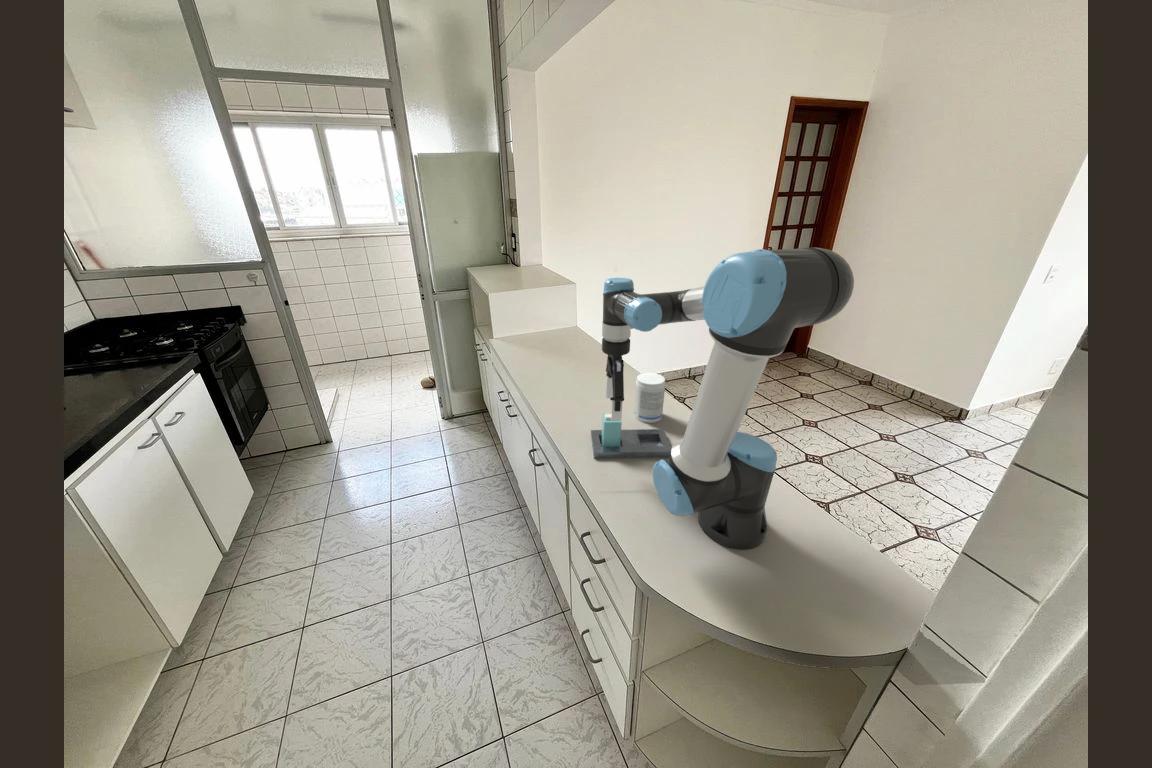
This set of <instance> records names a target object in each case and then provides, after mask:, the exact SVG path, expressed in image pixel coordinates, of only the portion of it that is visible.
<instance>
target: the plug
mask: <svg viewBox="0 0 1152 768" xmlns="http://www.w3.org/2000/svg"><path fill="white" fill-rule="evenodd" d="M601 419H602V420H601V430H602V439H601V442H602V447H620V439H621V430H622V420H621V421H611V413H602V417H601Z"/></svg>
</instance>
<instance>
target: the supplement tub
mask: <svg viewBox="0 0 1152 768" xmlns="http://www.w3.org/2000/svg"><path fill="white" fill-rule="evenodd" d="M635 382H636V383H635V392H634V393H635V395H634V408H633V410H634V411H633V415H634V417H635V418H636V420H638V421H640V422H643V423H649V424H650V423H652V424H653V423H656V422H659V421H661V419H662V418H663V412H664V402H665V392H666V378H665V377H664V376H663V375H661V374H659V373H654V372H644V373H641V374H638V375H637V376H636V381H635Z"/></svg>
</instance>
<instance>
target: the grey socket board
mask: <svg viewBox="0 0 1152 768" xmlns="http://www.w3.org/2000/svg"><path fill="white" fill-rule="evenodd" d="M590 438H591V439H590V440H591V441H590V442H591V447H592V454H593V459H639V458H640V459H647V458H649V459H650V458H669V455H670V452H671V449H672V446H671V443H670V441H669V439H668V437H667V434H666V431H665V429H664V428H659V429H658V428H656V429H653V428H651V429H648V428H647V429H646V428H645V429H621V439H620V447H602V442H601V439H602V429H591V430H590Z"/></svg>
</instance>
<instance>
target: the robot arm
mask: <svg viewBox="0 0 1152 768" xmlns="http://www.w3.org/2000/svg"><path fill="white" fill-rule="evenodd" d="M854 283H855V278H854V273H853V270H852V268H851V266H850V264H849V263H848V261H847V260H846V259H845V258H844V257H843V256H841V255H840V254H838V253H837V252H835V251H833V250H830V249H827V248H821V247H804V248H803V247H802V248H787V249H786V248H785V249H783V248H782V249H768V250H767V249H763V248H762V249H752V250H748V251H746V252H745V251H744V252H738V253H735V254H732V255H730V256H727V257H726V258H725V259H722V260H721V261H720V262H719V263H718V264H716V266H715V267H714V268H713V270H712V271H711V272H710V274H709V275H708V278H707V279H706V282H705V284H704V286H699V287H695V288H689V289H685V290H675V291H668V292H666V291H665V292H655V293H645V294H644V293H643V294H640V293H636V292H635V291H634V290H635V287H634V286H635V285H634V280H632V279H631V278H627V277H609V278H607V279H605V281H604V282H603V293H602V326H601V330H602V331H601V336H602V339H601V351H602V353H603V354H605V355H607V357H606V359H607V360H606V367H605V372H606V374H605V375H606V382H605V384H606V385H605V386H606V387H605V388H606V389H605V398H606V399H609V400H610V401H611V413H610V414H611V421H621V422H622V418H623V417H622V416H623V415H622V412H623V402H624V401H625V394H624V393H625V391H624V390H625V387H624V386H625V384H624V381H625V379H624V366H625V364H624V363H625V362H624V359H623V356H625V355H627V354H629V353H630V351H631V339H630V338H631V336H632V335H631V330H633V329H635V330H637V331H640V332H642V333H643V332H651V331H652V330H654V329H655V328H656V327H658V326H659V325H667V324H668V325H669V324H674V323H675V324H676V323H683V322H695V321H705V323H706V325H707V326H708V333H709V336H710V337H711V339H712V340H713V341H714V343H713V347H712V348H711V352H710V355H709V359H708V361H707V365H706V367H705V371H704V373H703V377H702V378H701V379H702V380H701V382H700V386H699V389H698V392H697V396H696V398H695V401H694V403H693V404H694V405H693V407H692V410H691V414H690V417H689V420H688V422H687V426H686V429H685V432H684V435H683V437H682V438H678V440H676V441H675V442H674V443H673V444H672V446H671V448H672V449H671V452H670V455H669V457H667V458H666V459H663V458H662V459H659V460H658V461H656V462H655V463H654V465H653V467H652V479H653V484H654V488H655V491H656V493H657V496H658V498H659V500H660V502H661V503H662V504H663V506H664V508H665V509H666V510H667V511H668V512H669V514H672V515H674V516H676V517H685V516H693V515H694V514H697V513H698V515H697V520H698V525H699V527H700V528H701V530H702V531H703V532H704V533H705V534H706V536H707V537H709V538H710V539H711V540H713V542H716V543H718V544H719V545H722V546H724V547H727V548H731V549H736V550H750V549H753V548H754V549H755V548H757V547H759V546H760V545H761V544H762V543H764V541H765V539H766V535H767V531H768V521H767V514H766V513H767V512H766V507H765V505H766V503H767V499H768V495H769V492H770V489H771V485H772V482H773V477H774V475H775V472H776V470H777V467H776V466H777V461H778V454H777V452H776V449H774V447H773V446H772V445H771V444H770V443H768V442H767V441H766V440H764V439H762V438H760V437H757V436H756V435H753V434H750V433H747V432H740V431H739V429H740V426H741V424H742V422H743V420H744V416H745V415H746V412H747V410H748V407H749V405H750V403H751V401H752V399H753V396H754V394H755V393H756V390H757V387H758V386H759V383H760V381H761V378H762V375H763V373H764V370H765V369H766V366H767V364H768V361H769V359H771V358H774V357H777V356H779V355H781V354H782V353H783V352H784V351H785V350H786V346H787V345H788V342H789V340H790V338H791V336H792V334H793V331H795V329H796V328H802V327H809V326H814V325H815V326H816V325H817V324H818V325H819V324H821V323H824V322H826V321H829V320H831V319H832V318H833V317H836V316H837V315H838V314H840V312H841V311H842V310H843V309H844V308H845V307H846V306H847V304H848V303H849V302H850V299H851V298H852V295H853V293H854V292H853V290H854V287H855V286H854V285H855V284H854ZM738 431H739V432H738Z"/></svg>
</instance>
